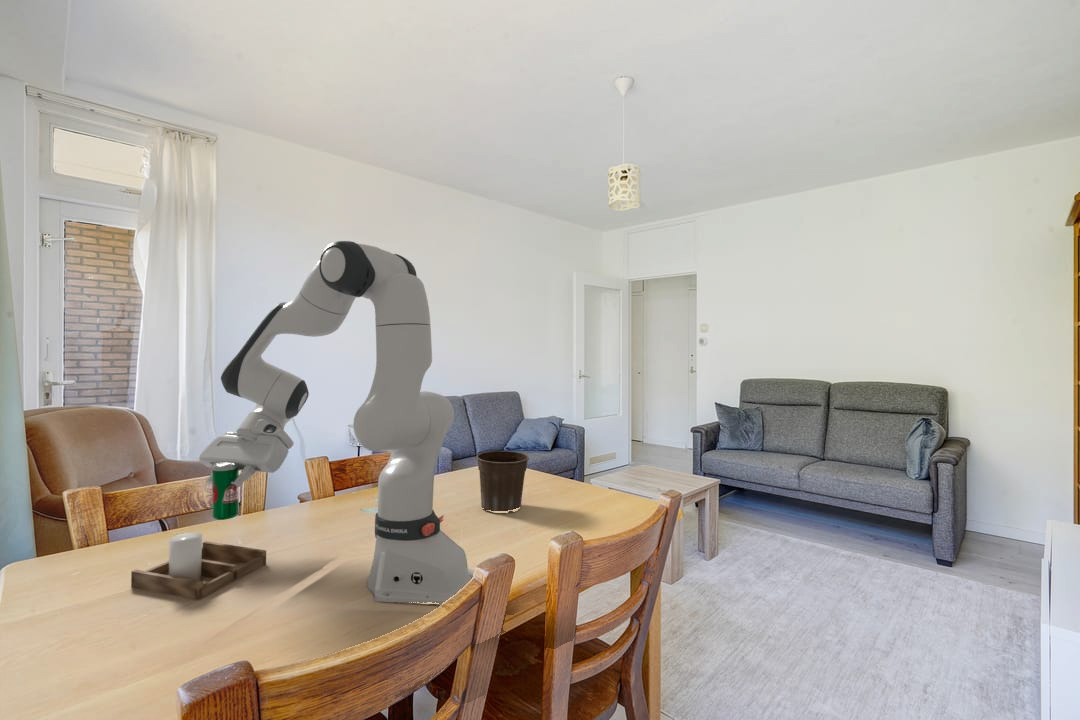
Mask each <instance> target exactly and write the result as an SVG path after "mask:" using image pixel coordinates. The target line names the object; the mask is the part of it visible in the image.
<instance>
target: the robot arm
mask: <svg viewBox="0 0 1080 720" xmlns="http://www.w3.org/2000/svg"><path fill="white" fill-rule="evenodd" d="M360 297H361V298H365V299H367V300H368V299H369V300H370V301H371V302H372V304H373V307H374V313H375V314H374V315H375V316H374V317H375V346H376V347H375V348H376V351H375V352H376V355H375V356H376V365H375V370H374V375H373V376H374V377H373V380H372V383H371V387H370V389H369V393H368V395H367V397H366V398H365V400H364V402H363V403H362V404H361V405H360V407H358V409H357V411H356V413H355V415H354V417H353V431H354V432H353V433H354V436H355V438H356V440H357V442H358V443H359V445H361V447H362V448H364V449H366V450H368V451H370V452H381V453H383V452H385V453H386V452H387V453H388V452H389V453H391V455H390V456H389V459H388V461H387V463H386V465H385V466H384V467H383V469H382V470H381V472H380V474H379V475H378V477H379V478H378V480H377V482H378V486H377V489H378V490H377V512H376V514H375V517H374V518H375V519H374V536H375V537H374V538H375V546H374V553H373V559H372V565H371V569H370V573H369V576H368V579H367V581H366V584H367V585H366V586H367V588H368V589H369V590H370V592H372V593H373V598H374V601H376V602H379V603H382V602H383V603H395V602H397V603H396V604H399V603H400V602H401V603H400V604H412V603H413V602H414V603H415V602H416V603H417V602H419V603H423V602H424V603H427V602H432V603H435V602H436V603H439V604H438V605H437V606H442V605H441V604H442V603H443V602H445V601H446V600H448V599H449V598H450V597H452V596H453V595H455V594H456V593H457V592H458V591H459V590H460V589H462V588H463V587H464V586H465V585H466V584H467V583H468V582H469V581H470V580H471V579H472V577H473V573H474V571H475V569H470V568H469V566H468V559H467V554H466V551H465V550H464V549H463V548H462V547H461V546H460V545H459V544H458V543H456V542H455V541H454V540H453V539H452V538H451V537H449V536H448V535H447V534H446V533H445V532H443V530H442V529H441V523H442V522H443V521H444V520H445V519H444V516H445V515H443V514H442V515H440V517H438V516H437V514H436V512H435V511H434V509H433V507H434V506H433V504H434V503H433V502H434V486H435V485H434V482H435V472H436V468H437V463H438V461H439V456H440V452H441V449H442V446H443V442H444V440H445V437H446V435H447V434H448V432H449V430H450V429H451V428H452V426H453V424H454V421H455V411H454V407H453V405H452V402H450V400H449V399H448V398H447V397H446V396H444V395H442V394H439V393H436V392H431V391H421V390H422V384H423V381H424V377H425V374H426V372H427V371H428V370H429V368H430V367H431V364H432V363H433V351H432V350H433V349H432V346H433V345H432V330H431V329H432V328H431V314H430V307H429V302H428V301H429V300H428V296H427V292H426V288H425V285H424V283H423V281H422V280H421V279H420V278H419V277H418V276H417V271H416V268H415V266H414V265H413V263H412V262H411V261H410V260H408V259H407V258H405V257H404V256H402V255H400V254H397V253H392V252H390V251H387V250H385V249H382V248H379V247H377V246H374V245H369V244H365V243H364V244H362V243H357V242H355V241H350V240H337V241H334V242H331V243H329V244H327V245H326V247H325V248H324V250H322V253H321V256H320V258H319V260H318V262H316V264H315V265H314V266H313V268H312V269H311V271H310V272H309V274H308V275H307V276H306V279H305V280H304V282H303V284H302V286H301V288H300V290H299V292H298V294H297V295H296V296H295V297H294V298H293V299H292V300H291V301H288V302H285V301H284V302H280V303H278V304H277V305H276V306H275V307H272V309H271V310H270V311H269V312H268V314H266V315H265V317H264V318H263V320H261V322H260V323H259V324H258V326H257V327H256V329H255V330H254V331H253V333H252V334H251V335H250V337H249V338H248V339H247V341H246V342H245V343H244V345H243V346H242V347H241V349H240V351H238V353H237V354H236V355H235V356H234V357H233V358H232V359H231V360H230V361H229V362H228V363H227V365H226V366H225V367H224V369H223V371H222V373H221V376H220V380H221V383H222V386H223V389H224V390H225V392H226V393H227V394H230V395H233V396H236V397H238V398H243V399H245V400H247V401H250V402H251V403H252V402H253V403H255V404H256V406H255V407H254V409H252V411H250V412H249V413H248V414H247V416H246V417H245V418H244V420H243V421H242V422H241V424H240V425H239V426H238V428H237V429H236V430H235V432H233V431H226V432H225V433H224V434H223V433H222V434H220V435H218V436H217V437H215V438H214V439H212V441H211V442H210V443H209V444H208V445H207V446H206V447H205V448H204V450H203V451H202V452H201V453H200V454H199V457H198V458H199V461H200V463H201V464H203V465H204V466H205V467H207V468H211V470H210V476H209V477H208V478H207V479H206V480H207V483H208V484H210V485H212V469H213V468H214V465H215V464H218V463H223V462H233V463H234V464H235V463H237V464H236V465H237V466H238V467H239V471H242V472H240V473H239V475H238V476H235V477H234V478H233V480H232V481H231V485H233V486H235V487H239V488H240V487H241V486H242V485H243V484H244V482H245V481H247V480H248V479H249V478H251V477H252V476H254V474H255V473H256V472H258V473H270V474H273V473H275V472H276V471H278V470H279V469H280V468H281V466H282V465H283V463H284V462H285V461H286V459H287V456H288V454H289V450H290V449H292V447H293V446H294V444H295V443H294V440H292V438H291V437H290V436H289V434H288V433H286V431H285V430H284V429H285V426H286V425H287V423H288V422H290V421H291V420H292V418H295V417H297V416H298V414H299V412H301V410H302V408H303V407H304V405H305V403H306V402H307V400H308V398H309V395H310V393H309V389H308V386H307V384H306V381H305V380H304V379H302V378H301V377H300V376H297V375H295V374H293V373H290V372H289V371H287V370H284V369H281V368H279V367H277V366H275V365H273V364H271V363H268V362H267V361H265V360H264V359H263V358H262V355H263V354H264V352H265V351H266V349H267V348H268V347H269V345H271V344H272V341H274V339H275V337H277V336H278V335H284V334H285V335H286V334H287V335H297V336H304V337H315V338H317V337H323V336H328V335H331V334H333V333H335V332H336V331H338V329H339V328H340V327H341V326H342V324H343V323H344V322H345V319H346V318H347V315H348V314H349V312H350V310H351V308H352V305H353V303H354V302H355V300H356V299H357V298H360ZM398 602H399V603H398ZM402 602H404V603H402ZM405 602H406V603H405ZM407 602H408V603H407ZM409 602H410V603H409ZM411 602H412V603H411Z"/></svg>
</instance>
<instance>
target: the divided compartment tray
mask: <svg viewBox="0 0 1080 720" xmlns="http://www.w3.org/2000/svg"><path fill="white" fill-rule="evenodd" d="M266 565H267V550H265V549H259V548H253V547H246V546H240V545H233V544H227V543H219V542H215V541H214V542H213V541H207V540H205V541H202V566H201V581H197V580H191V579H186V578H180V577H174V576H169V560H168V561H165V562H163V563H161V564H159V565H157V566H153V567H150V568H149V569H146V570H141V569H134V570H132V571H131V572H130V573H131V575H130V577H131V578H130V579H131V581H130V582H131V583H130V584H131V585H130V587H131V588H132V589H139V590H142V591H149V592H155V593H159V594H165V595H169V596H170V595H171V596H175V597H180V598H186V599H191V600H196V601H200V600H202V599H204V598H205V597H207V596H209V595H211V594H213V593H215V592H216V591H219V590H221V589H222V588H225V587H227V586H228V585H230V584H232V583H234V582H236V581H238V580H240V579H242V578H243V577H245V576H248V575H249V574H251V573H253V572H255V571H257V570H258V569H260V568H262V567H264V566H266Z"/></svg>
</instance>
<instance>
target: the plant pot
mask: <svg viewBox="0 0 1080 720" xmlns="http://www.w3.org/2000/svg"><path fill="white" fill-rule="evenodd" d="M476 460H477V467H478V470H479V485H480V499H481V500H480V502H481V503H480V504H481V505H480V506H481V509H482V508H484V509H483V510H485V509H486V510H491V511H508V510H513V509H516V508H519V507H520V506H522V501H523V499H522V498H523V491H524V482H525V473H526V471H527V467H528V466H527V465H528V461H529V460H530V456H529V455H528V454H526V453H523V452H519V451H513V450H509V451H508V450H490V451H483V452H480V453H478V454H477V455H476ZM486 510H485V511H486Z"/></svg>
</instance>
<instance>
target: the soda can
mask: <svg viewBox="0 0 1080 720" xmlns="http://www.w3.org/2000/svg"><path fill="white" fill-rule="evenodd" d="M236 464H237V463H235V464H234V463H233V462H223V463H218V464H215V465H214V468H213V469H212V468H211V470H212V484H211V512H212V513H211V515H212V518H213V519H214V520H217V521H226V520H230V519H233V518H235V517H237V516H238V515H239V512H240V511H239V510H240V504H239V503H240V495H239V494H240V493H239V492H240V491H239V490H240V487H235V486H233V485H231V481H232V480H233V478H234V477H235V476H238V475H240V472H239V471H240V470H239V467H238V466H237V465H236Z"/></svg>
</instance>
